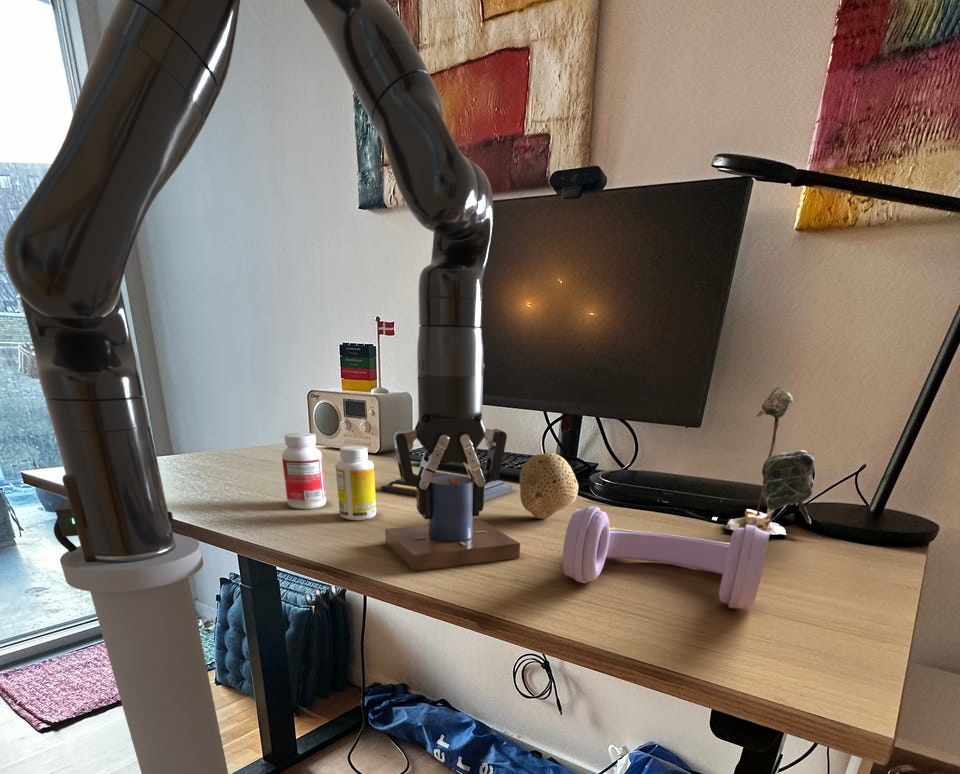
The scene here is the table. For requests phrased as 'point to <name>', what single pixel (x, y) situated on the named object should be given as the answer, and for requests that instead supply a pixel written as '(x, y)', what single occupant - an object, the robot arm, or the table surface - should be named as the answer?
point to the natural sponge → (547, 485)
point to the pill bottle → (303, 472)
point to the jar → (451, 508)
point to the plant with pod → (780, 475)
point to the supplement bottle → (355, 484)
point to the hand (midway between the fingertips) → (450, 515)
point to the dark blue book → (490, 488)
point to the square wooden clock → (450, 547)
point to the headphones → (666, 553)
